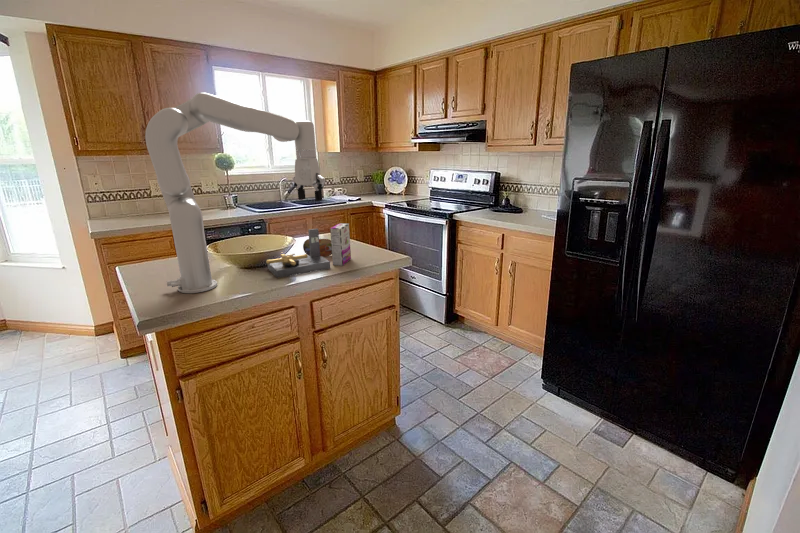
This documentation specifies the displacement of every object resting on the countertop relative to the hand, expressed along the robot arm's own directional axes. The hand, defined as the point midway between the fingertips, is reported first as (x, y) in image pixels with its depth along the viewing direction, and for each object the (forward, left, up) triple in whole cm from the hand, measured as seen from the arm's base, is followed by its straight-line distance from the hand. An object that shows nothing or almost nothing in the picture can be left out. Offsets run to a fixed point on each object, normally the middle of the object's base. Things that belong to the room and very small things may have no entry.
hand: (310, 200), depth 150 cm
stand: (-6, +3, -28) cm, 29 cm away
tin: (+9, +18, -29) cm, 35 cm away
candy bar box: (+13, +2, -29) cm, 31 cm away
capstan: (-11, +1, -25) cm, 27 cm away
